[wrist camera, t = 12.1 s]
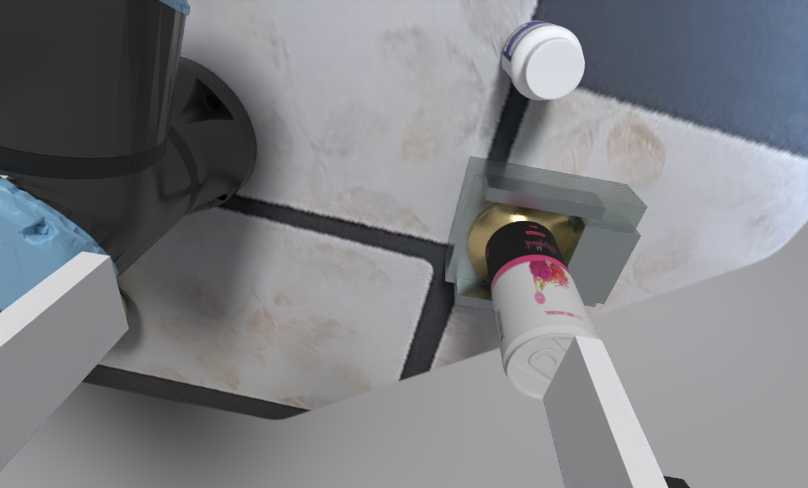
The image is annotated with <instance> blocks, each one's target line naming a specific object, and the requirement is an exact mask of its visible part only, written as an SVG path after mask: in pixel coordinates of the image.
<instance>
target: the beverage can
mask: <svg viewBox="0 0 808 488" xmlns="http://www.w3.org/2000/svg"><path fill="white" fill-rule="evenodd" d="M485 255H486V262H487V268H488V275H489V281H490V287H491V293H492V300H493V306H494V312H495V319H496V325H497V331H498V337H499V344H500V350H501V356H502V363H503V368H504V371H505V373H506V375H507V377H508V379H509V381H510V383H511V384H512V386H513V387H514V388H515V389H516V390H517V391H518V392H520V393H522V394H523V395H525V396H527V397H530V398H533V399H537V400H543V396H544V394H545V392H546V390H547V389H548V387H549V385H550V383H551V381H552V379H553V377H554V375H555V373H556V371H557V369H558V367H559V365H560V363H561V361H562V360H563V358H564V356H565V354H566V352H567V350H568V348H569V346H570V344H571V342H572V340H573V338H574V336H581V337H587V338H593V339H599V338H598V336H597V333H596V331H595V329H594V327H593V324H592V322H591V320H590V317H589V315H588V313H587V311H586V308H585V306H584V304H583V302H582V299H581V297H580V295H579V293H578V290H577V288H576V286H575V283H574V281H573V279H572V277H571V274H570V272H569V270H568V268H567V265H566V263H565V261H564V259H563V256H562V254H561V252H560V249H559V247H558V245H557V243H556V240H555V238H554V236H553V234H552V233H551V232H550V231H549V230H548V229H547V228H546V227H545V226H543V225H541V224H539V223H536V222H533V221H515V222H511V223H508V224H506V225H504V226H502V227H500V228H499V229H498V230H496V231H495V232H494V233H493V234H492V236H491V237H490V239H489V240H488V242H487V245H486V250H485Z"/></svg>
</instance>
